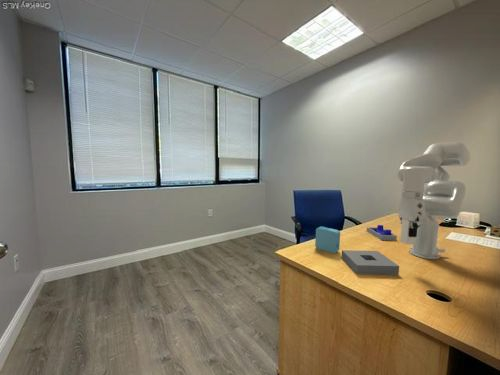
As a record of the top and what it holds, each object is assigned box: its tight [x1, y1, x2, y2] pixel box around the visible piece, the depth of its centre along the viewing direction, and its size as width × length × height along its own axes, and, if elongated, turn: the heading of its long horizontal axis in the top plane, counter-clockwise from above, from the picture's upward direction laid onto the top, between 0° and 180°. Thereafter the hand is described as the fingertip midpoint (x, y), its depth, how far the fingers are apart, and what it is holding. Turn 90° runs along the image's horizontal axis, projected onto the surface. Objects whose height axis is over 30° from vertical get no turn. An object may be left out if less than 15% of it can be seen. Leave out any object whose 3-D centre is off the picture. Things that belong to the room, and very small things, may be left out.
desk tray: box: [366, 226, 398, 241], centre depth 142 cm, size 10×18×3 cm, turn 179°
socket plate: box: [341, 249, 400, 276], centre depth 99 cm, size 18×16×4 cm
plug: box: [399, 217, 416, 245], centre depth 95 cm, size 4×4×12 cm
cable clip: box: [375, 224, 392, 235], centre depth 142 cm, size 12×4×6 cm, turn 173°
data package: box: [314, 226, 341, 254], centre depth 117 cm, size 12×4×12 cm, turn 45°
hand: (408, 234), depth 95 cm, fingers closed on plug, 4 cm apart
